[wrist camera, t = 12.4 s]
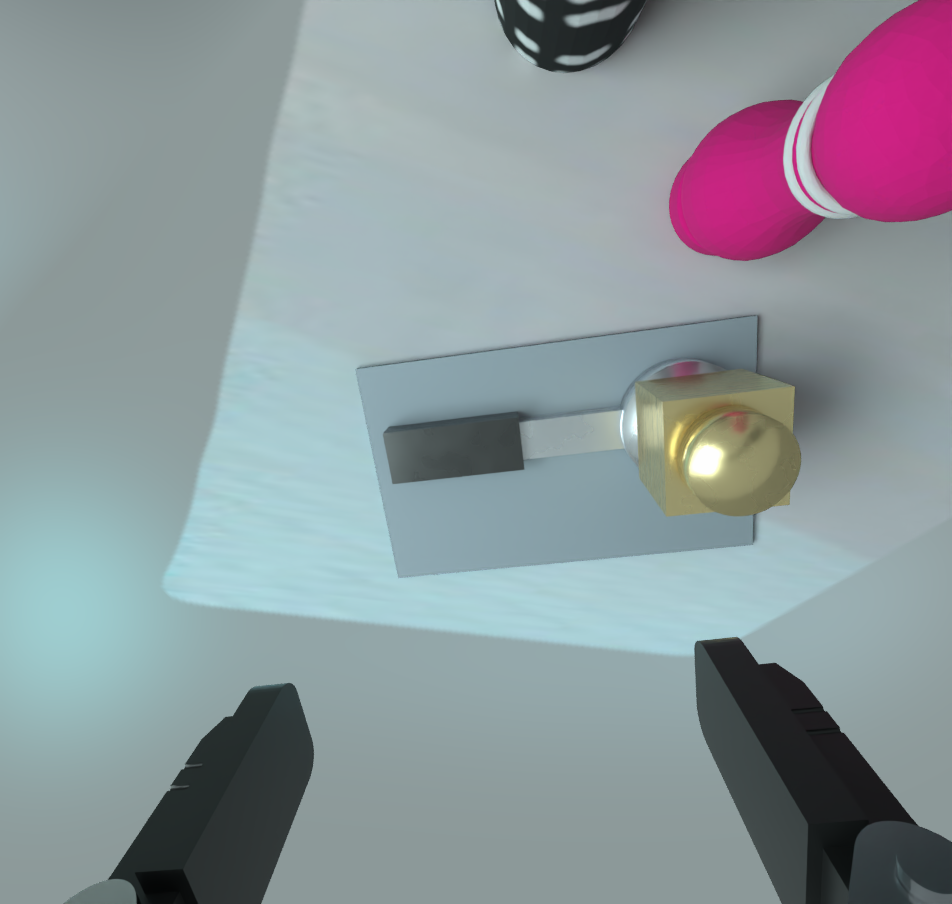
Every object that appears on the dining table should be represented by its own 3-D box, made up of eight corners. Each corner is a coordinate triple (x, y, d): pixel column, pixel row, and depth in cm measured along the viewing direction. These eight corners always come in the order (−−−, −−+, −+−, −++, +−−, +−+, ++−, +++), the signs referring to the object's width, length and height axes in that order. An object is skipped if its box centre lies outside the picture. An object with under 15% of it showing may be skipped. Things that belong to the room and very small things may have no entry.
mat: (356, 368, 35) (355, 369, 35) (754, 315, 33) (757, 315, 32) (399, 574, 40) (398, 577, 39) (750, 542, 37) (752, 544, 37)
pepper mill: (751, 101, 29) (1209, -249, 10) (805, 216, 31) (1291, 97, 12) (637, 183, 31) (850, 11, 12) (695, 288, 32) (964, 287, 13)
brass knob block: (634, 381, 32) (675, 410, 24) (742, 368, 31) (818, 394, 24) (639, 478, 34) (677, 533, 26) (740, 467, 33) (810, 520, 26)
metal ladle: (382, 395, 35) (360, 414, 30) (740, 349, 33) (784, 361, 28) (403, 503, 37) (386, 538, 32) (739, 467, 35) (779, 498, 30)
